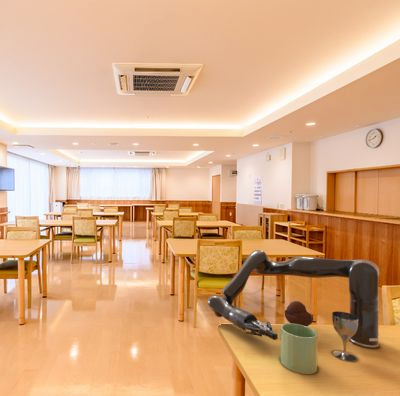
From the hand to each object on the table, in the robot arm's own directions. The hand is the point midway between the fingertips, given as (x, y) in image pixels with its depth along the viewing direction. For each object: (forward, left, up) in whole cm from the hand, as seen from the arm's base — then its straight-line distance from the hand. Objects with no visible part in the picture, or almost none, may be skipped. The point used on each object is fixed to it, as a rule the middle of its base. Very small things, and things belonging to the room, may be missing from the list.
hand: (276, 337), depth 108 cm
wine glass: (-14, +21, -6) cm, 26 cm away
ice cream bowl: (-21, +5, -6) cm, 22 cm away
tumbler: (+3, +8, -6) cm, 10 cm away
